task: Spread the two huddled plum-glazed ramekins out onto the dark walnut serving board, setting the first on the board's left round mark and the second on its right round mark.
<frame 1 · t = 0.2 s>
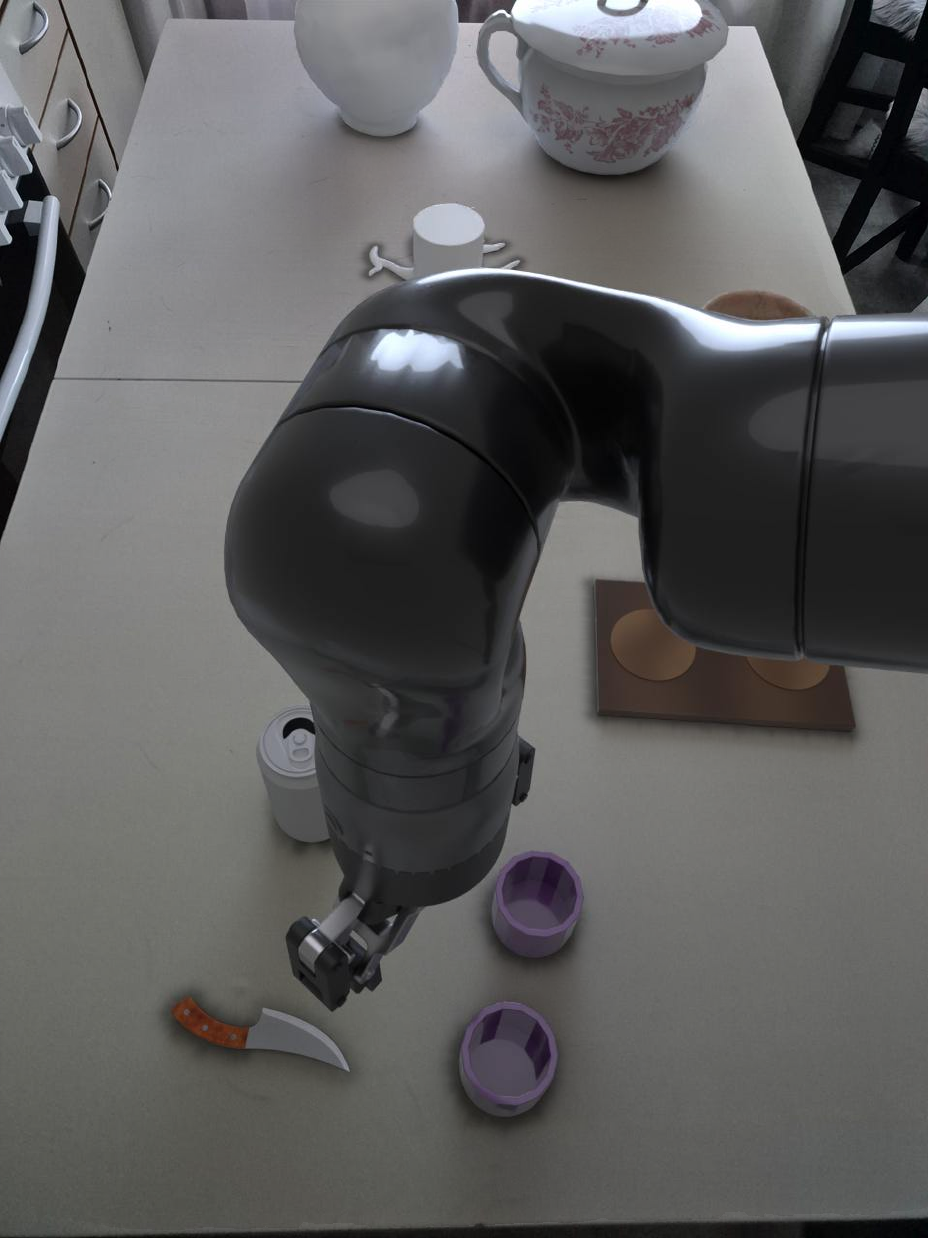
hand: (419, 909, 50), 22 cm above the table, tool pointing down, fingers open, 8 cm apart
bread roll: (424, 463, 99), on the table
knife: (263, 1032, 68), on the table
ceramic jug: (728, 437, 103), on the table
beverage can: (315, 809, 77), on the table
serving board: (716, 655, 87), on the table
ramekin 2: (503, 1067, 67), on the table
chamber pot: (597, 147, 135), on the table
ramekin 1: (532, 916, 73), on the table
tree stump: (444, 284, 116), on the table
vase: (378, 119, 137), on the table
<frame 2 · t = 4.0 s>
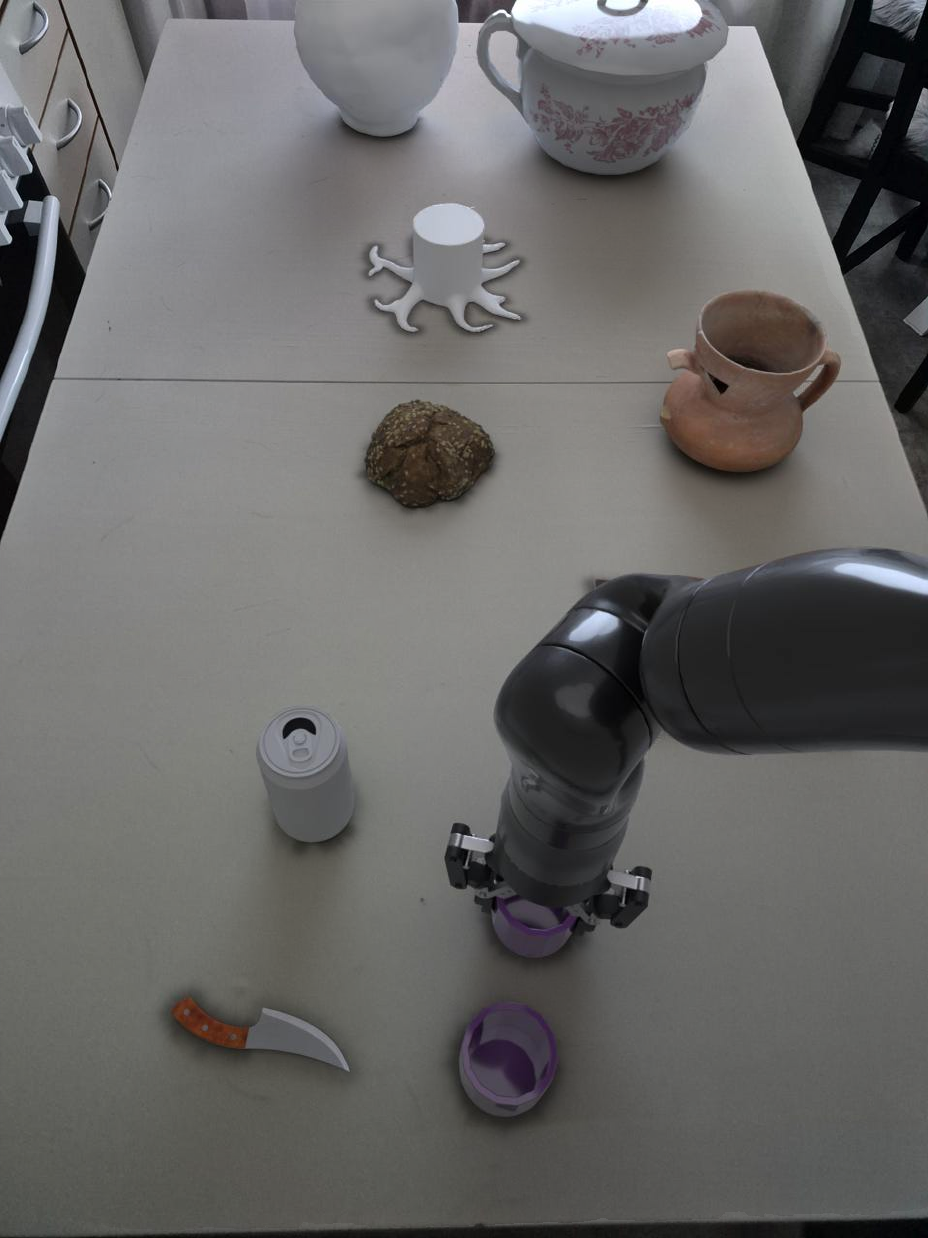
hand: (534, 911, 72), 1 cm above the table, tool pointing down, fingers closed on ramekin 1, 6 cm apart
ramekin 1: (532, 916, 73), on the table, touching gripper
everything else where it was.
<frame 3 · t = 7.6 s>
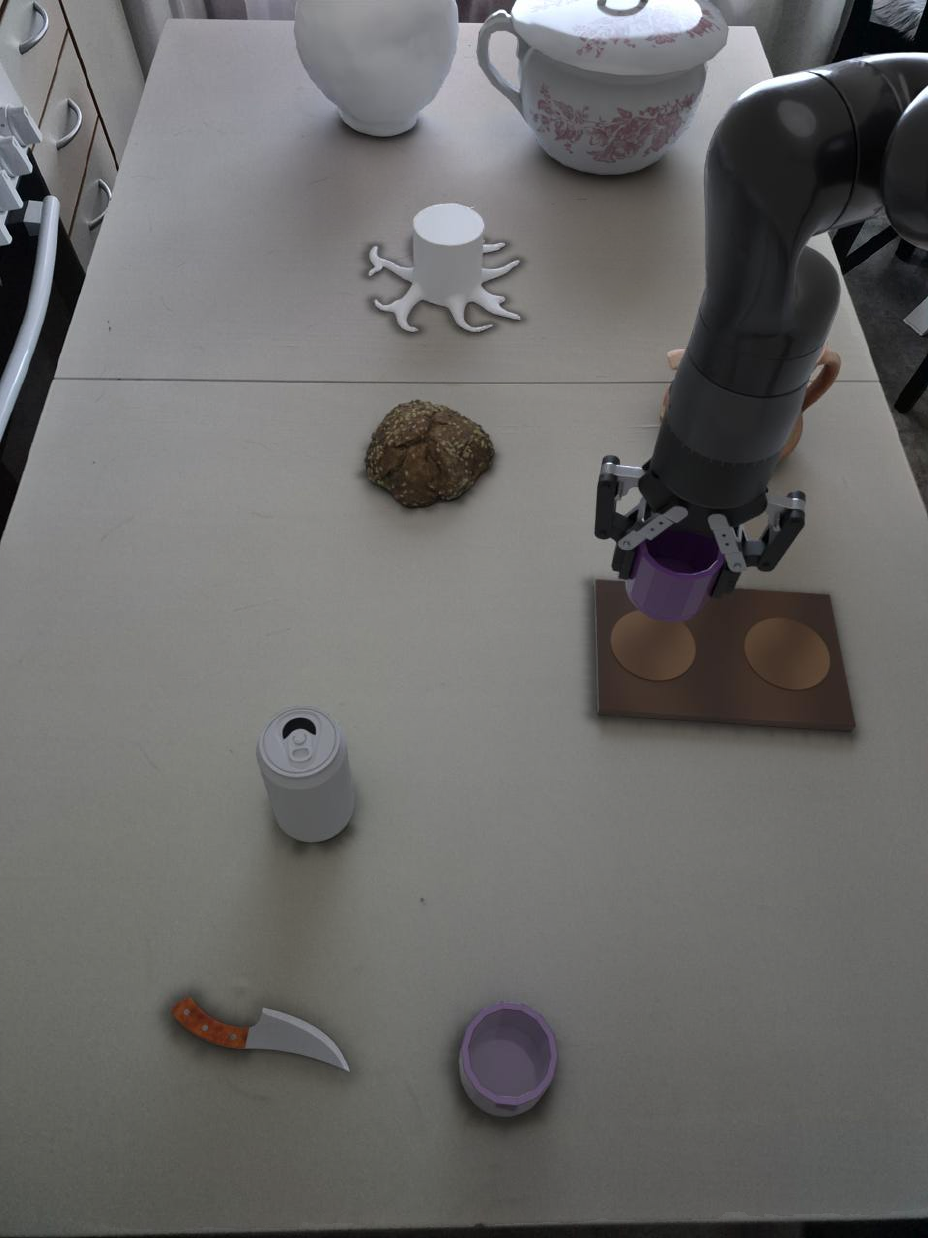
hand: (670, 579, 72), 16 cm above the table, tool pointing down, fingers closed on ramekin 1, 6 cm apart
ramekin 1: (666, 589, 73), point 15 cm above the table, touching gripper
everything else where it was.
when the fingers open (2 cm above the table, at t = 11.5 s): ramekin 1 stays where it is, resting on serving board.
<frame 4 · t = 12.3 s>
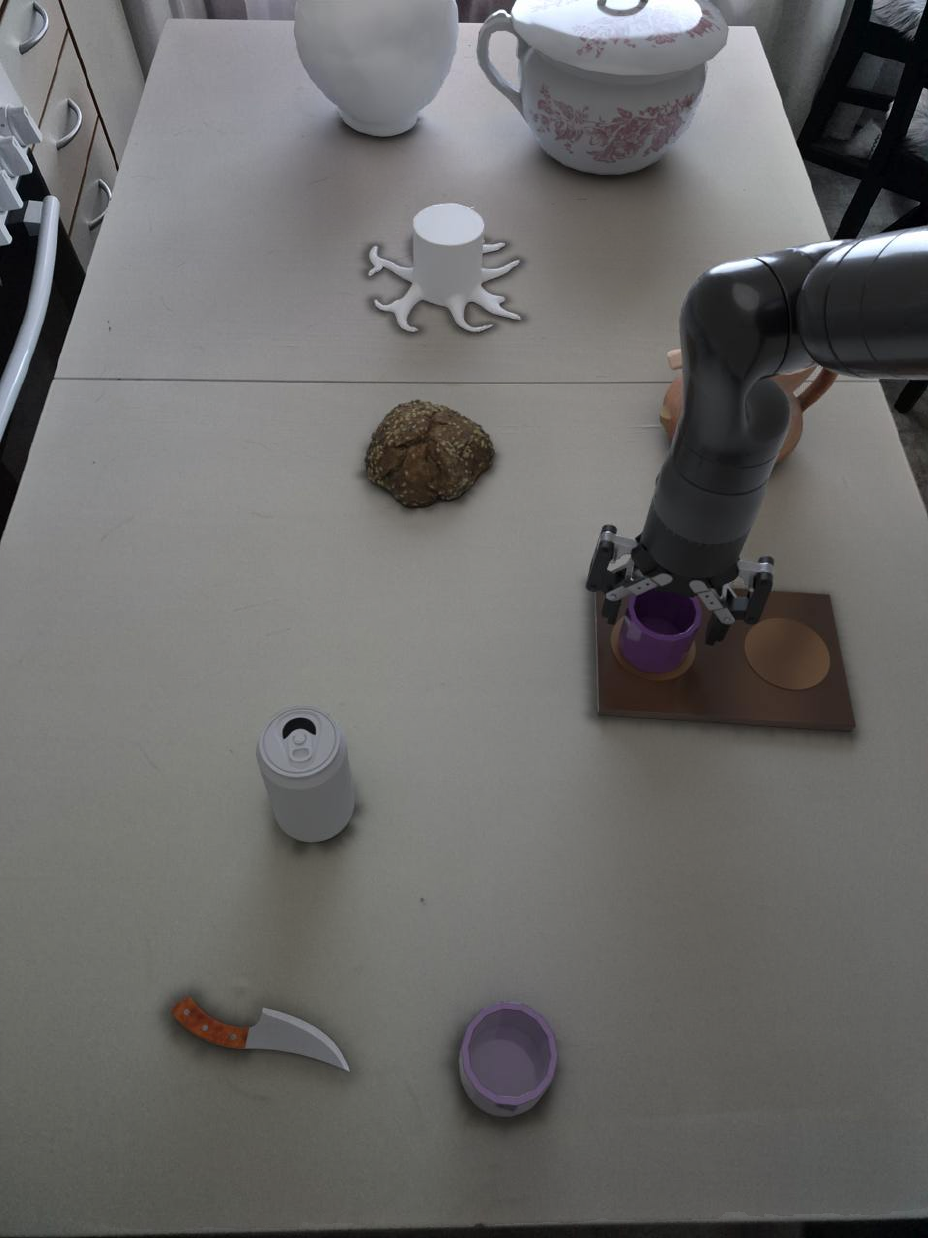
hand: (660, 626, 84), 4 cm above the table, tool pointing down, fingers open, 8 cm apart
ramekin 1: (652, 644, 86), point 1 cm above the table, touching serving board
everything else where it was.
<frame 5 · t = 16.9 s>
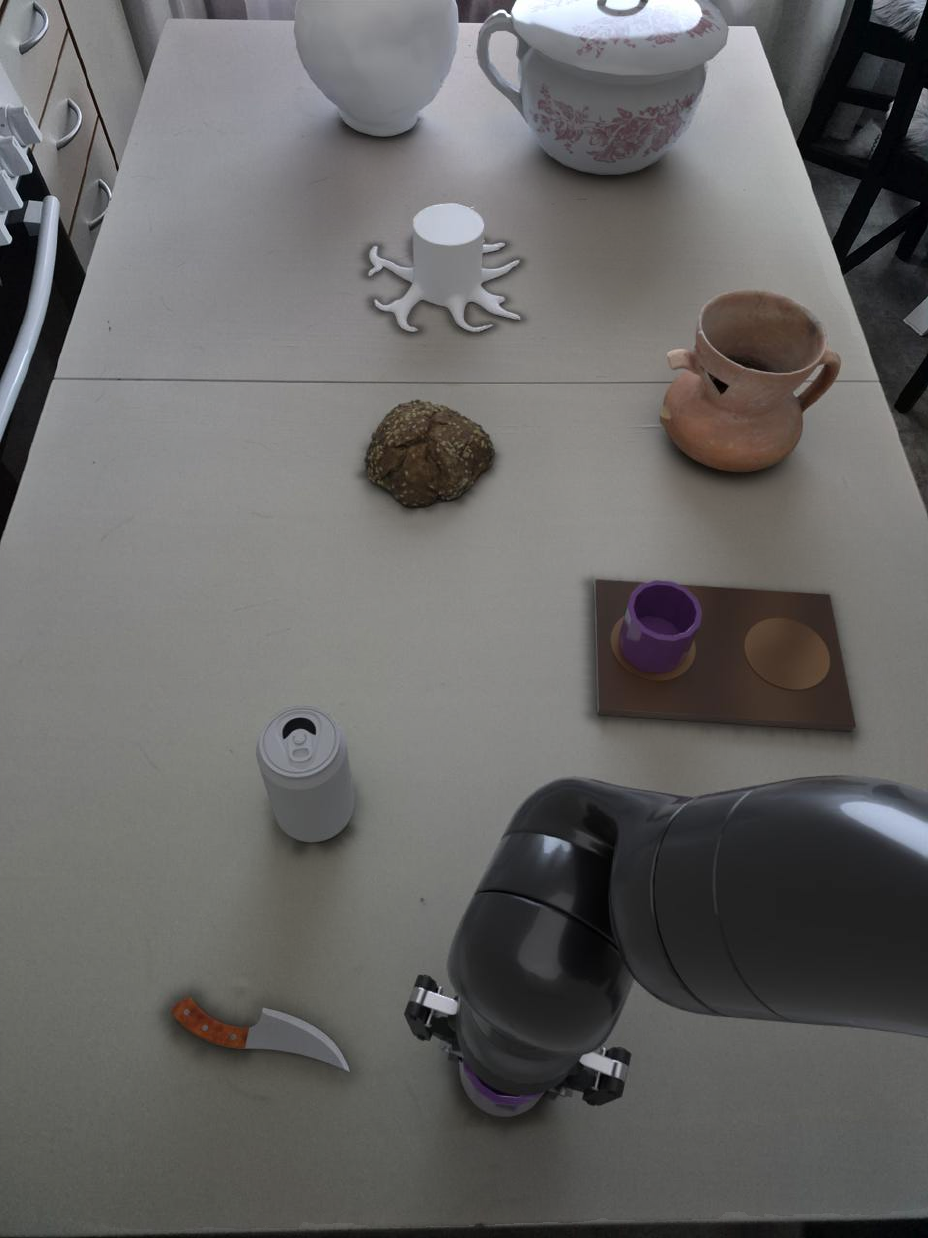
hand: (505, 1064, 66), 1 cm above the table, tool pointing down, fingers closed on ramekin 2, 6 cm apart
ramekin 2: (503, 1067, 67), on the table, touching gripper
everything else where it was.
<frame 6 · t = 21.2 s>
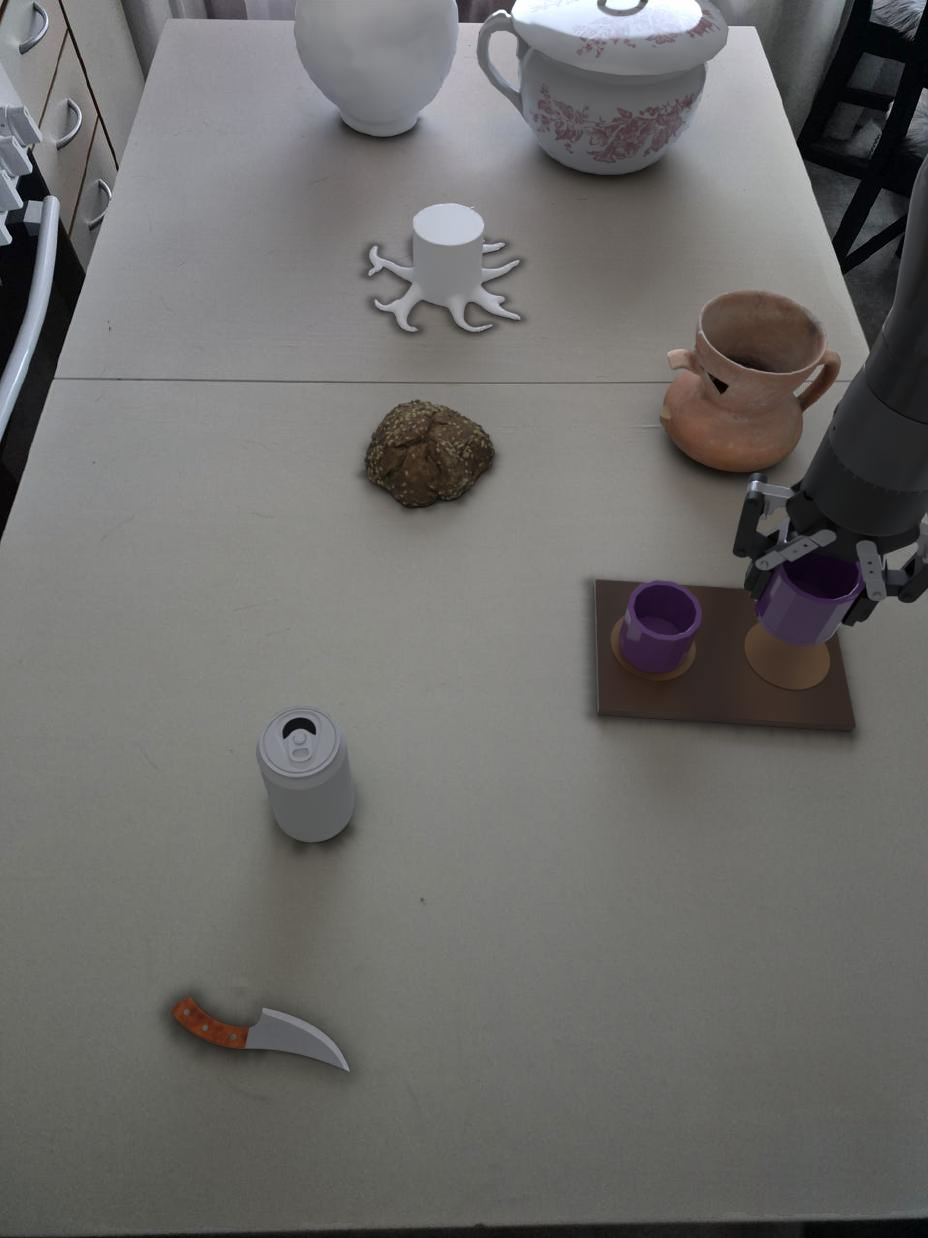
hand: (801, 602, 71), 16 cm above the table, tool pointing down, fingers closed on ramekin 2, 6 cm apart
ramekin 2: (795, 611, 72), point 15 cm above the table, touching gripper
everything else where it was.
when the fingers open (2 cm above the table, at t = 25.5 s): ramekin 2 stays where it is, resting on serving board.
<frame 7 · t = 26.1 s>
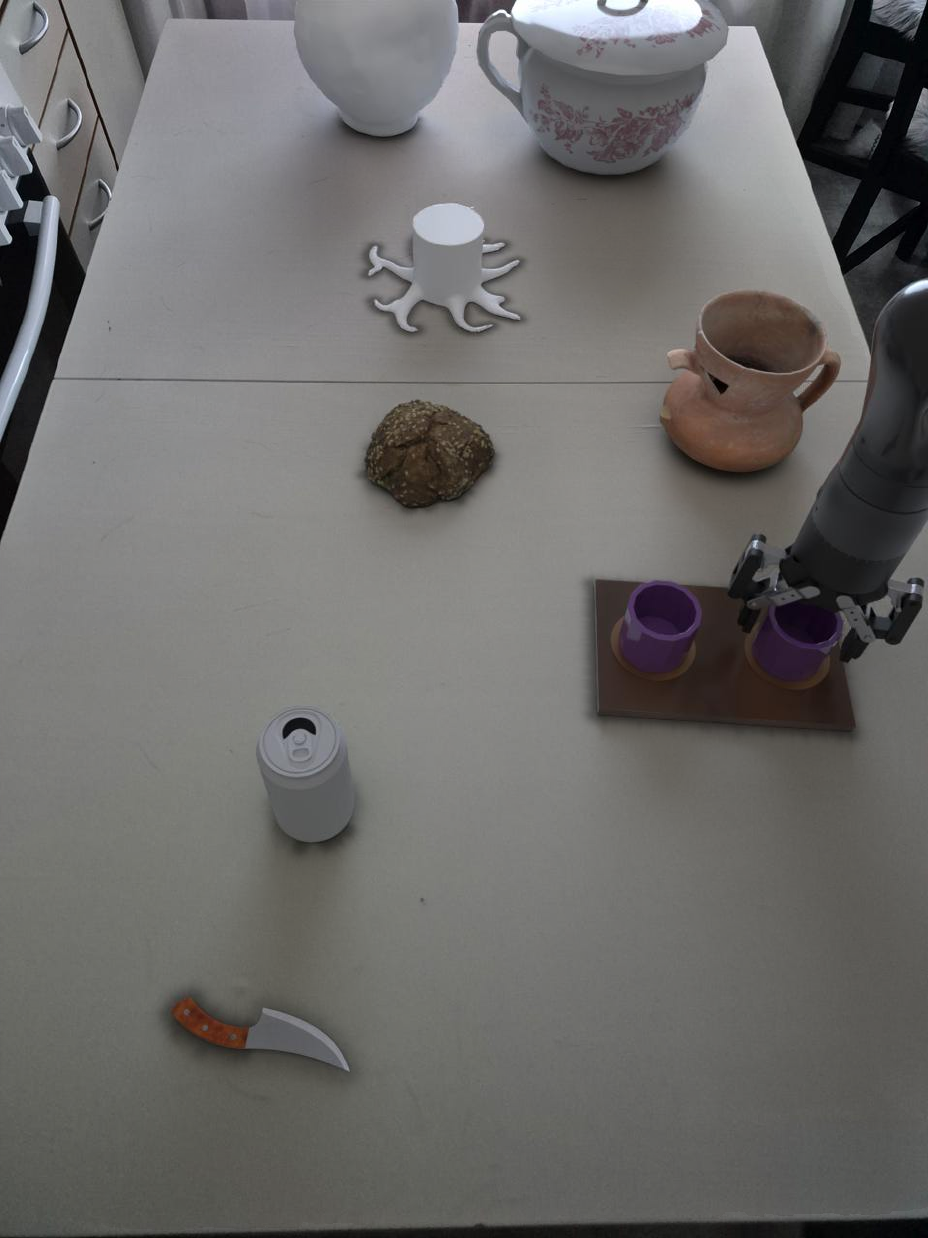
hand: (795, 639, 84), 3 cm above the table, tool pointing down, fingers open, 8 cm apart
ramekin 2: (786, 652, 86), point 1 cm above the table, touching serving board
everything else where it was.
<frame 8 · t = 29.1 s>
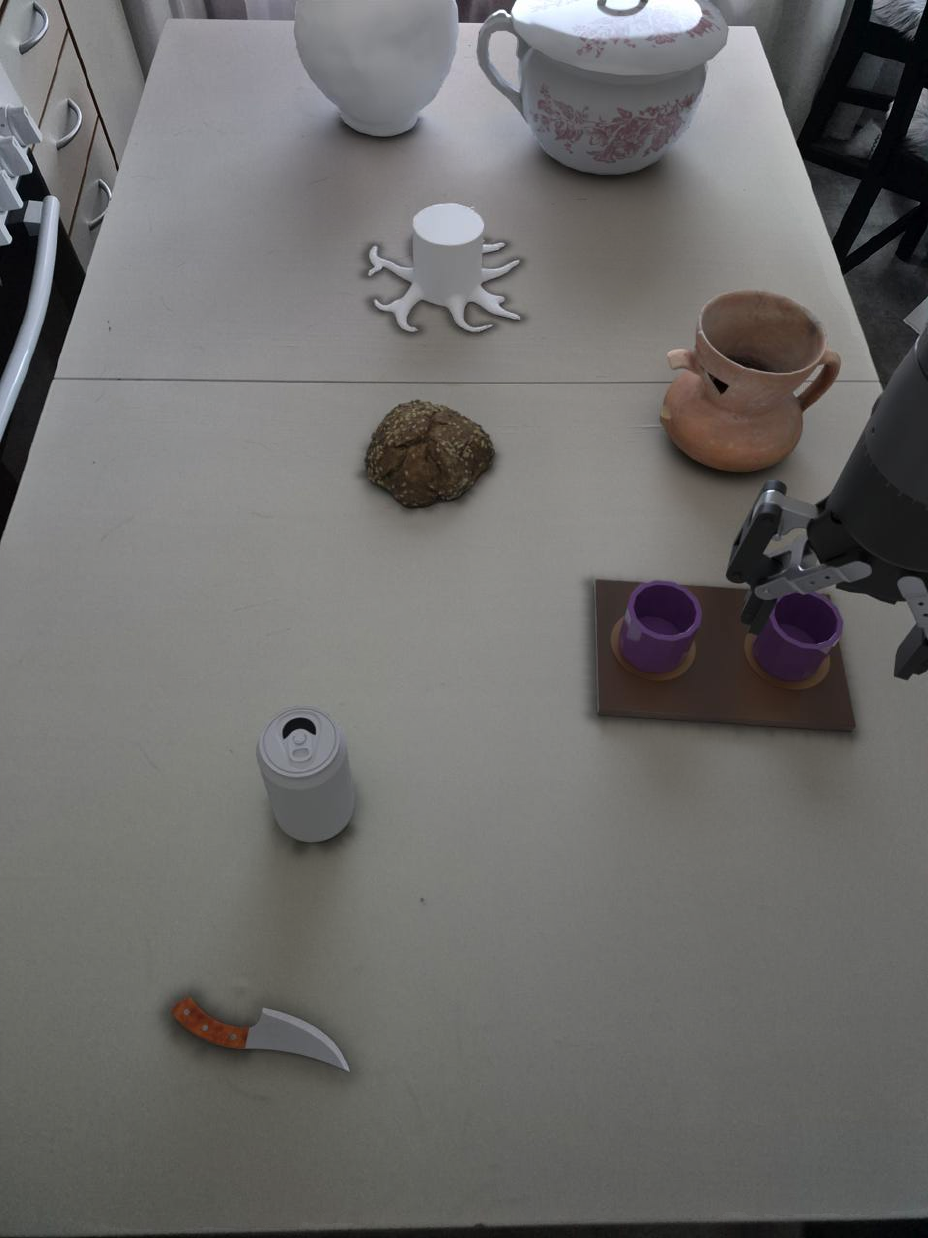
hand: (827, 644, 56), 26 cm above the table, tool pointing down, fingers open, 8 cm apart
nothing on the table moved.
at the end: ramekin 1 0.0 cm from the target spot on the serving board, point 1.1 cm above the serving board's base; ramekin 2 0.1 cm from the target spot on the serving board, point 1.1 cm above the serving board's base; ramekin 2 tilted 0° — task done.
